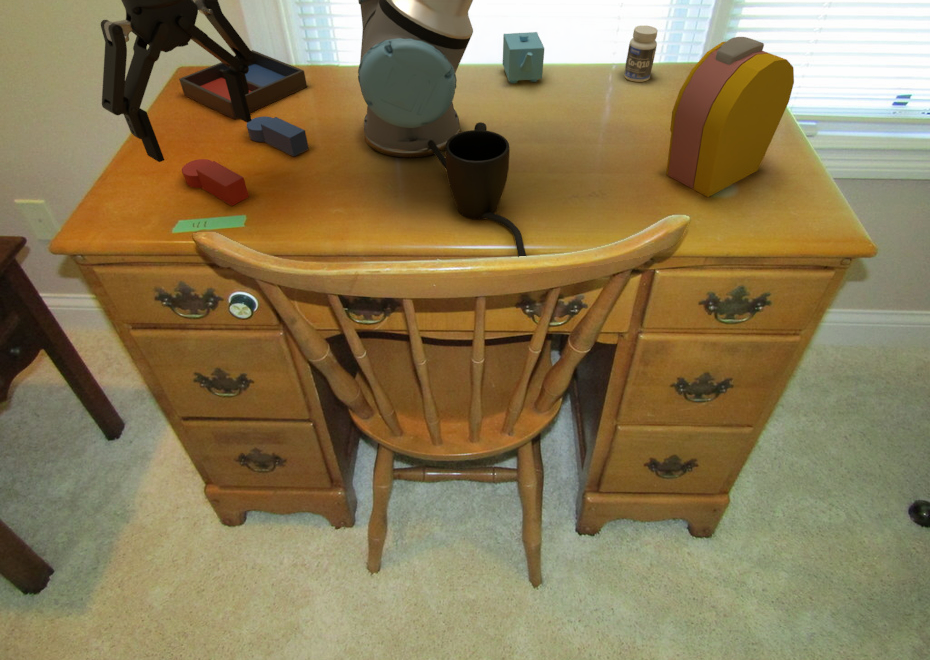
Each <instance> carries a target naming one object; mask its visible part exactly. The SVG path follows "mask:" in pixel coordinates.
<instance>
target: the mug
mask: <svg viewBox="0 0 930 660" xmlns="http://www.w3.org/2000/svg"><path fill="white" fill-rule="evenodd" d="M487 128H488V127H487V124H486V123H485V122H482V121H479V122H477V123H475V125H474V129H471V130H465V131H460V133H458V134H456V135H454V136H452V137H451V138H450V139H449V140H448V141H447V143H446V145H445V150H444V152H445V158H446V169H445V171H446V177H447V182H448V186H449V189H450V193H451V195H452V199H453V201H454V203H455V205H456V209H457V213H459V215H461V216H462V217H464V218H467V219H470V220H475V221H476V220H477V221H478V220H486V219H485V218H483V217H482V215H484V214H485V213H487V212H491V213H494V214H497V211H498V209H499V205H500V202H501V200H502V197H503V194H504V191H505V188H506V184H507V180H508V176H509V171H510V154H511V153H510V151H511V147H510V142H509V141H508V139H507V138H506V137H505V136H503V135H502V134H499V133H497V132H495V131H491V130H487Z"/></svg>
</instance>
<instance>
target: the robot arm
mask: <svg viewBox="0 0 930 660" xmlns="http://www.w3.org/2000/svg"><path fill="white" fill-rule="evenodd" d="M120 1H121V3H122V5H123V7H124V10H125V19H121V20H116V21H110V20H108V19H103V20H101V22H100V29H101V32H102V36H103V39H104V55H103V73H102V90H101V91H102V92H101V107H102V108H103V109H104V110H106V111H108V112H109V113H111V114H112V115H115V116H120V115H123V116H124V119H125V122H126V124H127V127H128V128H129V129H128V130H129V131H130V133H131V135H132V136H134V137H135V138H137V139H139V140H141V141H142V144H143V147H144V150H145V152H146V155H147V156H148V157H150V158H152V159H153V160H155V161H156V162H158V163H161V162H164V161H165V158H164V157H165V156H164V155H163V151H162V149H161V146H160V144H159V142H158V139H157V136H156V133H155V130H154V127H153V125H152V123H151V120H150V117H149V114H148V112H147V111H146V110H144V109H142V108H141V105H142V102H143V99H144V97H145V93H146V90H147V87H148V84H149V82H150V78H151V74H152V71H153V68H154V65H155V63H156V62H158V60H159V59H160V56H161V52H163V53H169V52H172V51H173V50H174V49H176V48H180V47H181V48H183V47H186V46H189V42H190V41H193V42H194V43H195V44H197V45H198V46H199V47H201V48H202V49H203V50H204V51H206V52H207V53H209V54H210V55H211V56H213V57H214V58H215V59H216V60H218V61H219V62H220V63H221V62H222V63H224V64H225V65H226V66H228V67H229V68H230V70H229V69H226V70H224V71H223V73H224V77H225V81H226V84H227V88H228V92H229V95H230V99H231V103H232V106H233V110H234V114H235V117H237V119H239V120H241V121H243V122H245V123H246V124H247V123H248V122H250V121H252V120H251V119H252V117H251V113H250V112H249V108H248V104H247V100H246V96H245V95H246V94H248V93H249V88H248V84H247V80H246V76H245V74H247V73H248V71H249V67H248V66H247V65H248V64H249V63H253V62H254V61H255V56H254V54H253V53H252V52H251V51H252V50H251V49H250V48H249V46H248V44H247V43H246V42H245V41H244V40H243V38H242V37H241V36H240V33H238V31H237V30H236V29H235V28H234V26H233V25H232V24H231V22H230V21H229V19H228V18H227V17H226V16H225V15H224V14H225V13H223V11H222V8H221V5H220V2H219V0H120ZM357 1H358V4H359V6H360V14H361V21H362V22H361V24H362V26H361V27H362V33H361V34H362V36H361V47H360V60H359V65H358V70H357V74H358V75H357V80H358V84H359V88H360V92H361V95H362V98H363V100H364V102H365V103H366V105H367V107H366V115H365V117H364V119H363V135H364V141H365V143H366V144H367V145H368V146H369V147H370V149H372V150H374V151H376V152H378V153H380V154H383V155H386V156H390V157H396V158H406V159H407V158H409V159H410V158H422V157H427V156H432V155H434V156H435V157H436V158H437V159H438V161H439V162H440V164H441V166H442V167H443V168H444V169H445V170H446V156H445V155H444V154H443V153H442V152H443V151H445V145H446V143H447V141H448V140H449V139H450V138H451V137H452V136H454V135H456V134H458V133H461V123H460V119H459V115H458V113H457V110H456V109H455V107H454V103H453V101H454V98H455V94H456V89H457V81H458V80H457V75H456V73H457V70H458V68H459V66H460V63H461V61H462V59H463V57H464V55H465V52H466V50H467V48H468V45H469V43H470V40H471V38H472V36H473V35H474V28H473V25H472V23H471V22H472V21H471V20H470V19H471V18H470V16H469V11H470V8H471V6H472V4H473V1H474V0H357ZM199 14H202V15H203V16H205V18H206V19H207V20H208V23H210V24H211V25H212V27H213V28H214V30H216V32H217V33H218V34H219V36H220V37H221V38H222V40H223V41H224V42H225V43H226V45H227V46H228V47H229V48H230V50H231V51H232V52H233V53H234V55H233V54H232V53H230V52H229V51H228V50H227V49H225V48H224V47H223V46H221V45H220V43H218V42H216V41H215V40H214V39H212V38H211V37H210V36H209V35H208V34H207V33H206V32H205V31H203V30H202V29H201V28H200V27H198V26H197V25H196V22H197V18H198V15H199ZM130 33H133V34H134V35H135V36H136V37H135V40H134V43H133V47H132V50H133V55H132V58H131V61H130V64H129V67H128V70H127V60H128V59H127V57H128V47H127V42H129V41H130V37H129V35H130ZM126 71H127V74H126ZM482 217H483V218H485V219H484V220H489V221H492V222H496V223H498V224H500V225H502V226H504V227H506V228H507V229H508V230H509V231H510V232H511V234H512V236H513V239H514V242H515V247H516V252H517V256H518V257H519V256H526V257H527V254H526V253H527V252H526V250H525V246H524V240H523V236H522V232H521V230H520V229H519V228H518V227H517V226H516V224H515V223H513V222H512V221H511V220H510V219H508V218H506V216H503V215H500V214H497V213H495V214H494V213H491V212H487V213H485V214H484V215H482Z"/></svg>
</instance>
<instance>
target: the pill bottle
mask: <svg viewBox="0 0 930 660" xmlns="http://www.w3.org/2000/svg"><path fill="white" fill-rule="evenodd" d="M657 36H658V29H657V28H656V27H655V26H651V25H642V24H641V25H637V26H635V27H634V29H633V32H632V38H631V39H630V41H629V44H628V49H627V54H626V62H625V67H624V72H623V76H624V78H625V79H626V80H628V81H631V82H635V83H642V82H647V81H649V80H650V78H651V74H652V70H653V66H654V61H655V58H656V57H655V56H656V51H657V46H658V43H657V41H656V40H657Z"/></svg>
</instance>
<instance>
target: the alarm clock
mask: <svg viewBox="0 0 930 660" xmlns="http://www.w3.org/2000/svg"><path fill="white" fill-rule="evenodd" d="M764 46H765V43H764V42H763V41H762V42H761V41H759V40H756V39H754V38H750V37H747V36H736V37H731V38H730V39H728V40H727V41H726V40H725V41H721V42H720V43H718V44H717V45H716V46H713V47H712V48H711V49H709V50H708V51H706V53H704V55H703V56H702V57H701V58H700V59H699V60H698V61H697V63H696V64H694V66H693V68H691V70H690V71H689V73H688V75H687V77H686V79H685V81H684V82H683V84H682V86H681V87H680V89H679V91H678V93H677V97H676V99H675V103H674V105H673V108H672V111H671V119H670V120H671V121H670V130H669V131H670V137H669V138H670V139H669V146H668V148H669V149H668V156H667V164H666V172H665V173H666V176H668V177H670V178H672V179H673V180H675V181H677V182H679V183H681V184H683V185H684V186H686V187H688V188H690V189H692V190H694V191H695V192H698V193H699V194H701V195H703V196H705V197H706V198H709V197H712V196H713V195H716V194H717V193H719V192H721V191H723V190H724V189H726V188H729V187H730V186H732V185H734V184H735V183H737V182H739V181H742V180H743V179H745V178H747V177H748V176H751V175H752V174H754V173H756V172H757V171H759V169H760V167H761V164H762V162H763V160H764V158H765V156H766V153H767V151H768V150H769V147H770V144H771V142H772V140H773V138H774V136H775V133H776V131H777V129H778V127H779V124H780V122H781V120H782V118H783V116H784V114H785V112H786V110H787V107H788V105H789V102H790V99H791V96H792V91H793V89H794V85H795V74H794V71H795V69H794V66H793V65H792V64H791V62H790V61H789V60H788V59H787V58H784V57H781V56H778V55H777V54H772V53H770V52H767V51H764V48H765V47H764Z"/></svg>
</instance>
